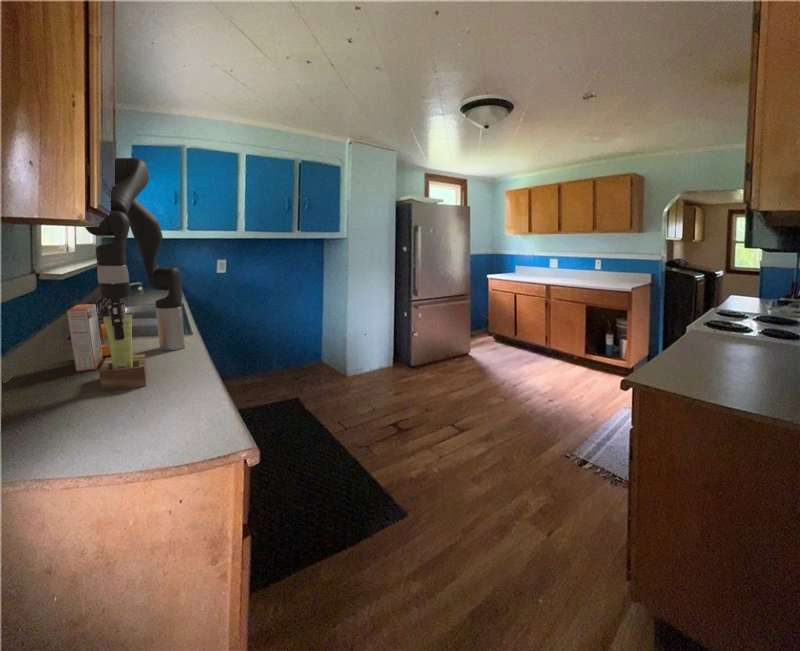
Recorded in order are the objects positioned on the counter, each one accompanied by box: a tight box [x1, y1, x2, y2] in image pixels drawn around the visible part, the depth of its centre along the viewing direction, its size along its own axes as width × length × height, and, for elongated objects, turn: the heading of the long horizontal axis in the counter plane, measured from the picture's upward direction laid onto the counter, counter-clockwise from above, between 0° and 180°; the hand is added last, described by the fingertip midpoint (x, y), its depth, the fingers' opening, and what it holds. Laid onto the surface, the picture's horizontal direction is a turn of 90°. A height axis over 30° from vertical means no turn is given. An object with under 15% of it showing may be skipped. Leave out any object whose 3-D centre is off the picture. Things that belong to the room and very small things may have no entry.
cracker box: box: [66, 303, 104, 372], centre depth 141 cm, size 14×6×21 cm, turn 27°
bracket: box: [100, 323, 111, 357], centre depth 157 cm, size 11×7×12 cm, turn 37°
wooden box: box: [99, 353, 148, 393], centre depth 128 cm, size 16×11×6 cm
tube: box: [102, 314, 133, 369], centre depth 124 cm, size 6×5×20 cm
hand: (120, 337), depth 123 cm, fingers closed on tube, 4 cm apart
